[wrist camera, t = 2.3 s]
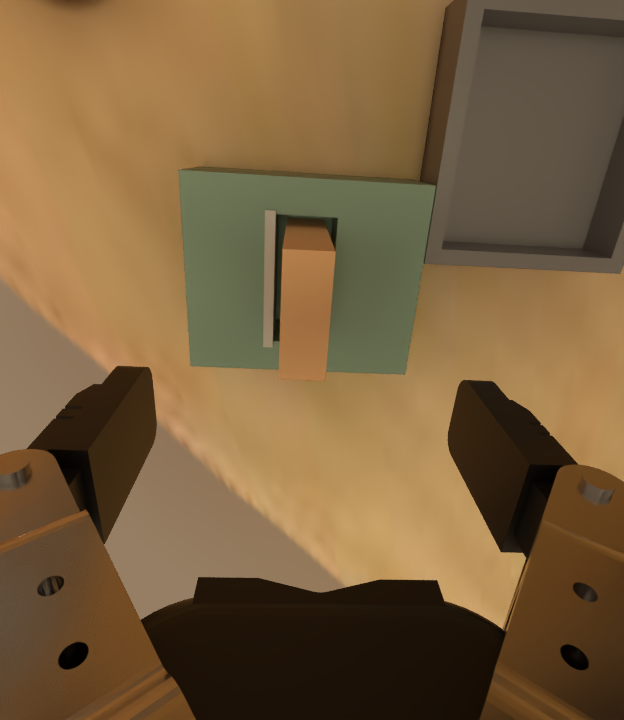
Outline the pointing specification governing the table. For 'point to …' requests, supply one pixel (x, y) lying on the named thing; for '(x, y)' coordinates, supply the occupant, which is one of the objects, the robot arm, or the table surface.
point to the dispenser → (264, 263)
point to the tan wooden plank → (305, 299)
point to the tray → (528, 136)
